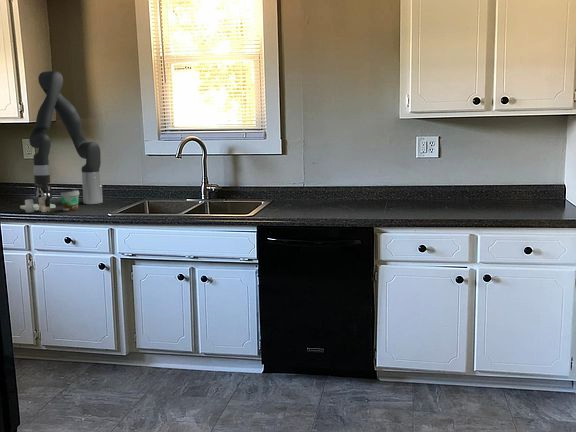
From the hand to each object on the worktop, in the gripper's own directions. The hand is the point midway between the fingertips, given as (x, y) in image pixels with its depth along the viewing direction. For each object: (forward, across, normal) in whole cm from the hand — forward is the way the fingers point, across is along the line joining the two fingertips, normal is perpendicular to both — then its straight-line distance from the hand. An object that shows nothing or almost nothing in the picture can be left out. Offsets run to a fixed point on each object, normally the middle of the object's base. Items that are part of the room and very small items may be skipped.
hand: (43, 205), depth 336 cm
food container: (+3, -9, -11) cm, 15 cm away
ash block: (+3, 0, 0) cm, 3 cm away
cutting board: (+3, +12, -2) cm, 13 cm away
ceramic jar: (+3, +4, +6) cm, 7 cm away
